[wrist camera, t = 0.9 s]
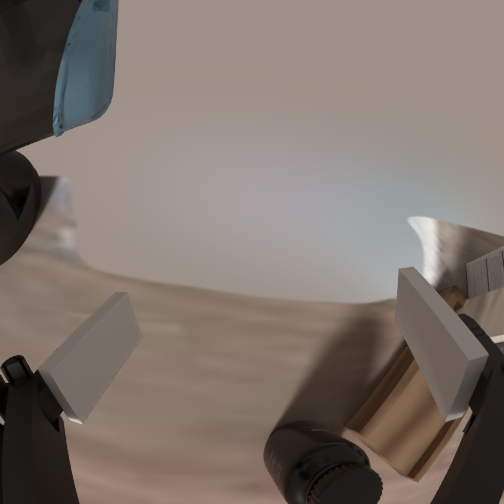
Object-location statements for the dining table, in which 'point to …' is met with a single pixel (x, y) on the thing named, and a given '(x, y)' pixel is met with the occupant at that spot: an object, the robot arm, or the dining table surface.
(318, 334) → the dining table surface
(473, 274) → the supplement box
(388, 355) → the dining table surface
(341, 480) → the supplement bottle
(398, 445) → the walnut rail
